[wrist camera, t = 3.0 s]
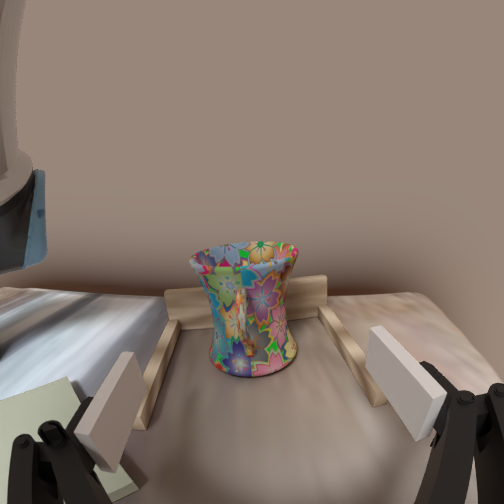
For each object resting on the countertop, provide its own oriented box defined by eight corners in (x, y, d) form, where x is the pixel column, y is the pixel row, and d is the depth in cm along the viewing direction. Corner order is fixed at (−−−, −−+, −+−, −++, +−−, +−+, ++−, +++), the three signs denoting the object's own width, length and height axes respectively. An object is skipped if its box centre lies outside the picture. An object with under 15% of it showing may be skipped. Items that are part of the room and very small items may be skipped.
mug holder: (386, 403, 17) (398, 350, 16) (131, 429, 17) (109, 379, 16) (324, 311, 35) (324, 274, 34) (173, 326, 34) (166, 289, 33)
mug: (213, 336, 31) (201, 245, 29) (295, 331, 31) (291, 238, 29) (193, 407, 20) (164, 283, 17) (311, 402, 19) (313, 273, 17)
